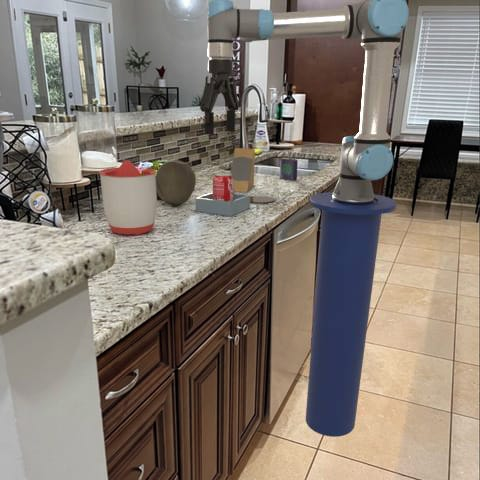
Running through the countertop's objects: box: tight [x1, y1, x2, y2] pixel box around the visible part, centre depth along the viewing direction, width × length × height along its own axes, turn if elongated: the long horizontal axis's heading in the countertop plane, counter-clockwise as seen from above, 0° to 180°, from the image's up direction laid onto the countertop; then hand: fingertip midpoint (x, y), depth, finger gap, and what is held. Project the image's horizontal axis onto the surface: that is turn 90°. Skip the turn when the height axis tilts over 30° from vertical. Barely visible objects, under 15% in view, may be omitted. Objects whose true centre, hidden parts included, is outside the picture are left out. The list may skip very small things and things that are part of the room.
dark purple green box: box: [279, 154, 299, 182], centre depth 225 cm, size 9×3×11 cm, turn 46°
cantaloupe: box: [155, 160, 197, 207], centre depth 174 cm, size 14×14×15 cm
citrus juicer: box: [98, 159, 158, 236], centre depth 143 cm, size 16×17×20 cm
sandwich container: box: [230, 147, 256, 193], centre depth 203 cm, size 9×15×15 cm, turn 168°
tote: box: [194, 191, 251, 217], centre depth 170 cm, size 14×14×4 cm
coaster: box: [250, 195, 275, 204], centre depth 186 cm, size 11×11×1 cm
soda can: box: [212, 172, 235, 202], centre depth 169 cm, size 7×7×12 cm
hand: (220, 133), depth 160 cm, fingers open, 13 cm apart
